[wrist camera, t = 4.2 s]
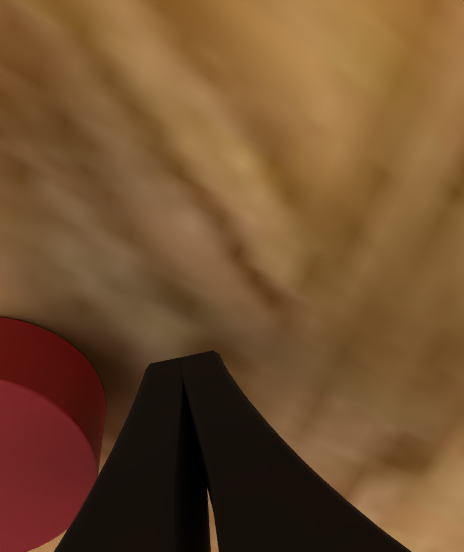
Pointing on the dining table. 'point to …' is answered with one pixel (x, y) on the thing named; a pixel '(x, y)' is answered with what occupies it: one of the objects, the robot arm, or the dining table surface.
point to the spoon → (45, 434)
